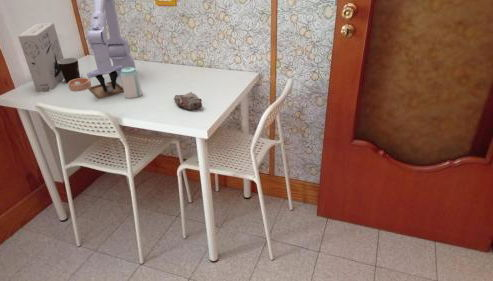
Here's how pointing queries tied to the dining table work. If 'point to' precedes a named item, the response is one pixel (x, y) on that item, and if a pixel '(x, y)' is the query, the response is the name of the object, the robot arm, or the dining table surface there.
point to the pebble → (109, 88)
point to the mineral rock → (188, 101)
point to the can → (130, 82)
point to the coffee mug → (69, 68)
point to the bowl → (84, 84)
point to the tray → (101, 93)
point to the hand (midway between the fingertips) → (109, 89)
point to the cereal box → (42, 55)
